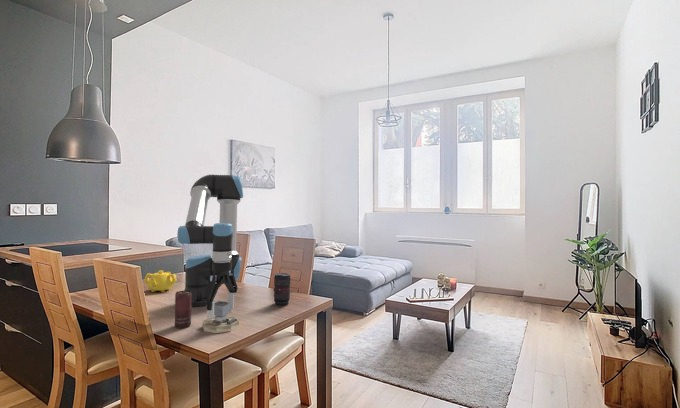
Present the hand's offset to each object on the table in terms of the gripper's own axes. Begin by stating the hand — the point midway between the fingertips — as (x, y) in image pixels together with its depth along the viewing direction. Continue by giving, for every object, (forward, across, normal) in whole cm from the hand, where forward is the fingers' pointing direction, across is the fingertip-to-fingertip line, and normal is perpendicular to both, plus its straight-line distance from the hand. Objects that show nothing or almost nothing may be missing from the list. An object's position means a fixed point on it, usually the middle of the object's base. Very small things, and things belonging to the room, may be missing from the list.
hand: (221, 312), depth 147 cm
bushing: (+5, 0, 0) cm, 5 cm away
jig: (+6, 0, 0) cm, 6 cm away
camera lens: (+6, +38, -9) cm, 39 cm away
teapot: (+6, +37, +65) cm, 75 cm away
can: (+6, -5, +15) cm, 16 cm away
